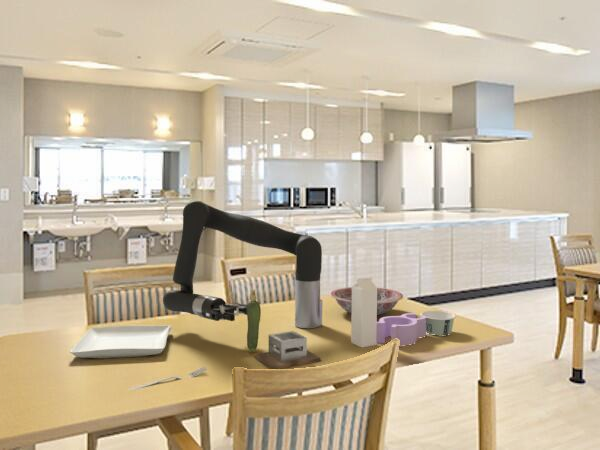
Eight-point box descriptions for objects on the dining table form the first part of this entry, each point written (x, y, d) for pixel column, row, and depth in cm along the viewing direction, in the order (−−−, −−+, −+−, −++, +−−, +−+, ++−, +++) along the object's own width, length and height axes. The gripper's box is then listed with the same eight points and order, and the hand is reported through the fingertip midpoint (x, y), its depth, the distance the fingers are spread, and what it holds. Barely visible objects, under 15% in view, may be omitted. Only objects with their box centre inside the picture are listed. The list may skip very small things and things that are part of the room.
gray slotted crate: (292, 349, 162) (292, 330, 161) (306, 357, 155) (306, 338, 154) (268, 354, 158) (268, 334, 157) (281, 362, 150) (281, 342, 150)
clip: (404, 330, 188) (405, 311, 188) (434, 337, 179) (435, 317, 179) (369, 341, 175) (369, 321, 174) (399, 350, 166) (399, 328, 165)
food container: (462, 334, 183) (463, 316, 182) (438, 339, 177) (438, 320, 176) (436, 326, 193) (437, 308, 192) (413, 331, 187) (413, 313, 186)
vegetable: (246, 349, 165) (246, 287, 163) (260, 349, 165) (260, 287, 164) (246, 354, 160) (246, 290, 159) (260, 354, 161) (260, 290, 159)
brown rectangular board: (300, 349, 165) (300, 346, 165) (320, 360, 155) (320, 357, 155) (254, 357, 157) (254, 354, 157) (272, 370, 147) (272, 366, 147)
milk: (376, 345, 170) (378, 278, 168) (361, 348, 167) (362, 280, 165) (365, 340, 175) (366, 275, 174) (350, 342, 172) (351, 277, 171)
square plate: (164, 359, 157) (164, 347, 156) (68, 364, 152) (68, 351, 152) (172, 333, 183) (171, 323, 183) (90, 337, 179) (90, 325, 179)
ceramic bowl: (315, 314, 210) (315, 294, 209) (356, 301, 232) (357, 284, 231) (377, 327, 191) (378, 306, 190) (415, 312, 213) (416, 293, 212)
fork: (115, 391, 133) (115, 384, 133) (203, 372, 147) (203, 365, 146) (119, 395, 130) (118, 388, 130) (208, 375, 144) (208, 369, 144)
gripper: (192, 300, 169) (227, 307, 159) (224, 292, 180) (259, 299, 170) (192, 322, 169) (227, 331, 159) (225, 314, 180) (259, 322, 170)
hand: (243, 315), depth 165 cm, fingers open, 8 cm apart
